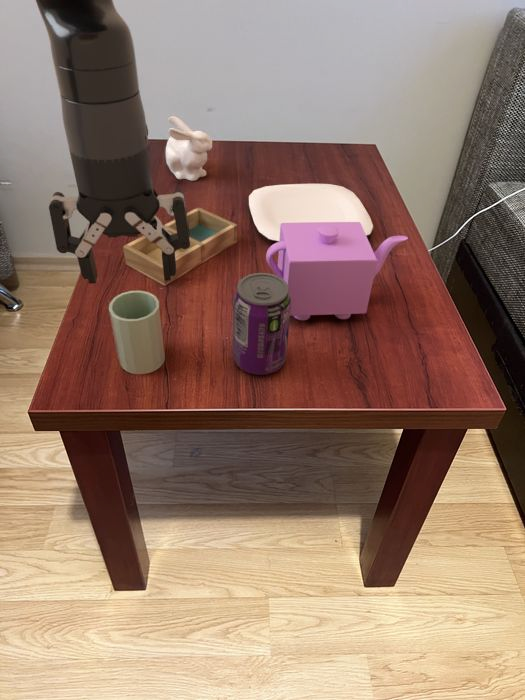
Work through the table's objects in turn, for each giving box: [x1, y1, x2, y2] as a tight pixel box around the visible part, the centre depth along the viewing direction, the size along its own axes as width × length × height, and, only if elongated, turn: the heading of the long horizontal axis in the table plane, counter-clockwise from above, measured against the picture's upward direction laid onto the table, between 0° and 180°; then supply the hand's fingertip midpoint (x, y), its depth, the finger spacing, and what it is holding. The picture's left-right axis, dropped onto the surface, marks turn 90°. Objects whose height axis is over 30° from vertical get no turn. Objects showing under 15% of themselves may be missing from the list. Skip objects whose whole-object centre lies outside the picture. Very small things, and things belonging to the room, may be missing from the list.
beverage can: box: [232, 272, 291, 375], centre depth 69 cm, size 7×7×12 cm
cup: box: [108, 290, 166, 375], centre depth 69 cm, size 6×6×9 cm
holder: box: [122, 207, 238, 287], centre depth 90 cm, size 17×9×3 cm, turn 142°
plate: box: [248, 183, 374, 243], centre depth 101 cm, size 22×22×2 cm
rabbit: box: [165, 115, 213, 182], centre depth 109 cm, size 12×9×12 cm
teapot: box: [265, 222, 409, 321], centre depth 79 cm, size 20×10×12 cm, turn 95°
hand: (131, 278), depth 63 cm, fingers open, 8 cm apart
